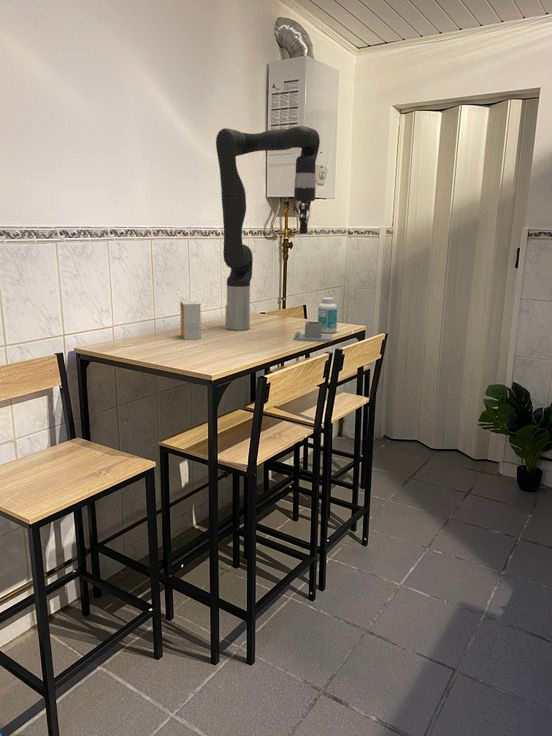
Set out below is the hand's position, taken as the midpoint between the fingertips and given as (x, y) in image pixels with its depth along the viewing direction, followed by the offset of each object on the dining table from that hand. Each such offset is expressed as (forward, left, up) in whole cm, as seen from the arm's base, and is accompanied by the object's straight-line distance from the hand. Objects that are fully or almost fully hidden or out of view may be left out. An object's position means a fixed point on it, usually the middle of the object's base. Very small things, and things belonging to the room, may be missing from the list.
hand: (303, 233), depth 210 cm
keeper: (+5, -4, -38) cm, 39 cm away
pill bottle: (+10, +12, -38) cm, 41 cm away
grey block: (+5, -4, -37) cm, 38 cm away
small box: (-40, -10, -38) cm, 56 cm away
